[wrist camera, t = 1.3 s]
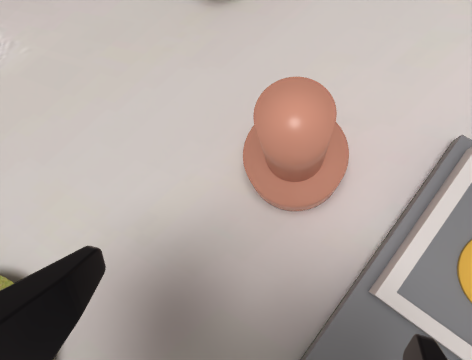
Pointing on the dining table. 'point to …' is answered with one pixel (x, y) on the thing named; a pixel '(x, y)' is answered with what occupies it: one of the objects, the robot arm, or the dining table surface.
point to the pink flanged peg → (295, 145)
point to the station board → (413, 276)
